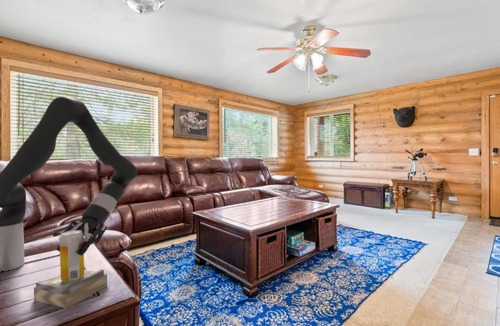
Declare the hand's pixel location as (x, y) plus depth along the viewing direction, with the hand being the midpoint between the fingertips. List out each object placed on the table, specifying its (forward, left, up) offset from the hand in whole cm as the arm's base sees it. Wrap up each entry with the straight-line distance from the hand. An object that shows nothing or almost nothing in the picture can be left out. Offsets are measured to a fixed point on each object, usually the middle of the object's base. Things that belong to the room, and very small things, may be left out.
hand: (69, 252), depth 76 cm
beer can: (0, +1, -9) cm, 9 cm away
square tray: (0, +1, -13) cm, 13 cm away
